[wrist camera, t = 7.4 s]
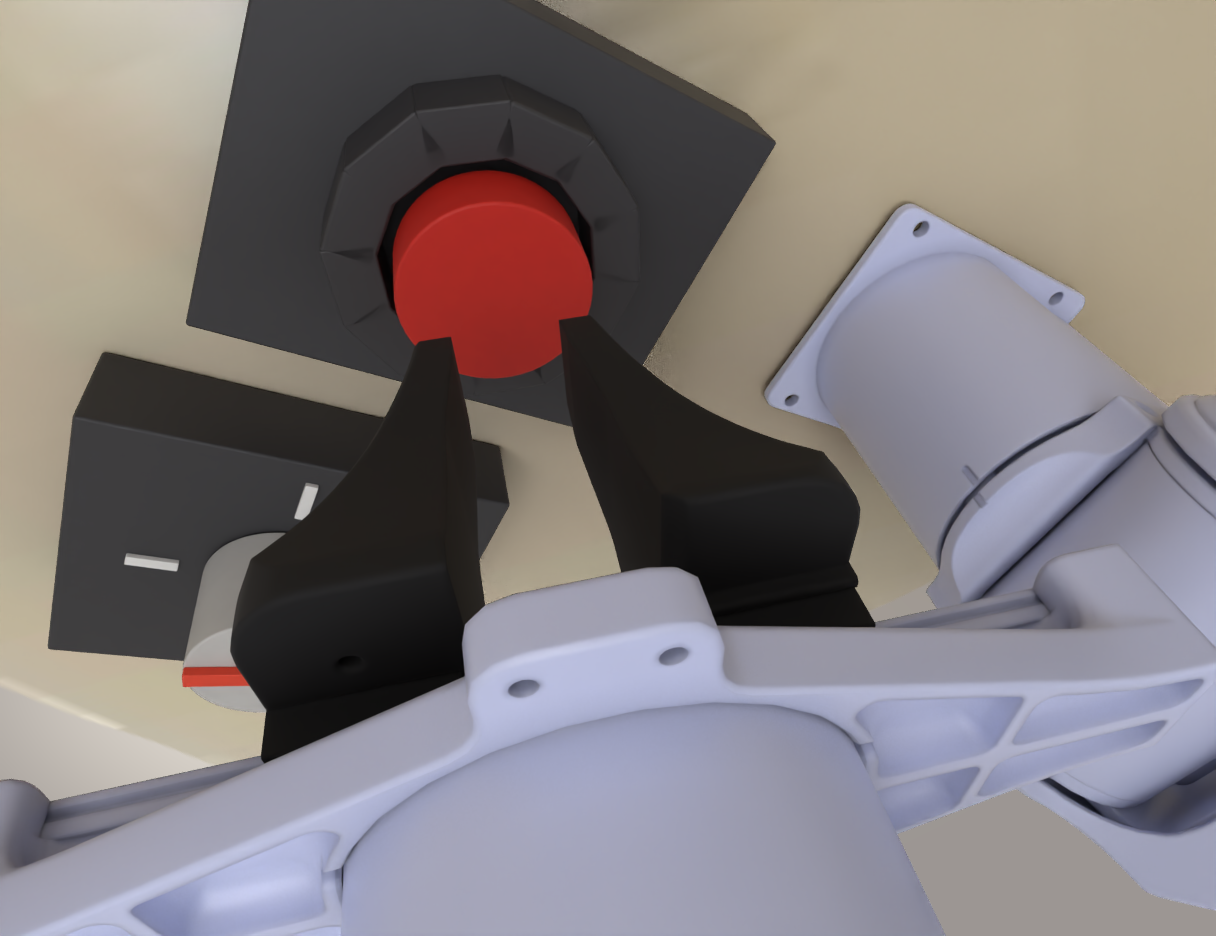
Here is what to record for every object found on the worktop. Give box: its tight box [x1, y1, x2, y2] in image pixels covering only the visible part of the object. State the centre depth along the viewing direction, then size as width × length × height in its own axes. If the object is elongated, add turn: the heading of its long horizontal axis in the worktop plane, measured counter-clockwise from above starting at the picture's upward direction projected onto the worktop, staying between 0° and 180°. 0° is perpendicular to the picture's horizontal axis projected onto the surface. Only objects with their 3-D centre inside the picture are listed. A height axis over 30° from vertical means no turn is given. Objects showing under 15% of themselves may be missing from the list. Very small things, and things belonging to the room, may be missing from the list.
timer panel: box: [48, 353, 509, 661], centre depth 26 cm, size 12×10×3 cm
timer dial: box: [182, 533, 285, 712], centre depth 23 cm, size 4×4×4 cm
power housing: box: [186, 0, 776, 427], centre depth 19 cm, size 12×10×4 cm
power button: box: [393, 170, 593, 378], centre depth 18 cm, size 4×4×2 cm
